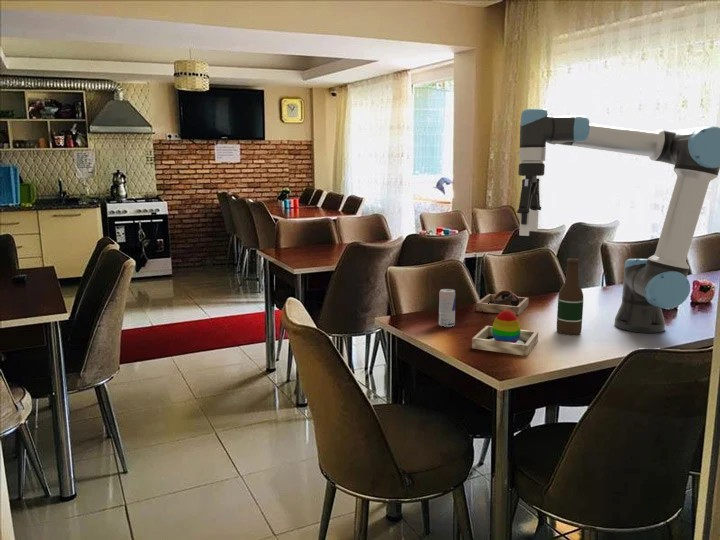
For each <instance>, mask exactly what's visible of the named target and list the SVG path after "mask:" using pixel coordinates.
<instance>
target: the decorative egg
mask: <svg viewBox="0 0 720 540" xmlns="http://www.w3.org/2000/svg"><path fill="white" fill-rule="evenodd" d="M492 326H493V327H492V333H493V336H492V337H493V338H494V339H495V341H503V342H511V343H516V342H517V341H518V339H519V337H520V330H521V324H520V321H519V319H518V316H517V315H515V314H514V313H513V312H511V311H509V310H504V311H502V312H501V313H497V315H496V317H495V318H494V321H493V323H492Z"/></svg>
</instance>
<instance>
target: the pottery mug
mask: <svg viewBox="0 0 720 540" xmlns="http://www.w3.org/2000/svg"><path fill="white" fill-rule="evenodd" d="M494 295H495V296H494V302H493V304H498V305H508V306H518V305H519V304H520V302H519V299H518V297H519V296H517V295H516V294H515V293H514V292H512V290H510V289H504V290H501V291H499V292H497V293H496V294H494ZM500 296H501V298H502V299H503V300H496V299H497V298H498V297H500Z"/></svg>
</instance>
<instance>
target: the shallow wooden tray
mask: <svg viewBox="0 0 720 540" xmlns="http://www.w3.org/2000/svg"><path fill="white" fill-rule="evenodd" d="M492 327H493V325H485V326H484V327H483V328H482V329H481V330H479V332H477V334H476V335H474V336H473V337H472V338H471V349H474V350H475V349H476V350H482V351H489V352H496V353H504V354H509V355H510V354H511V355H518V356H525V357H528V355H529V354H530V353H531V351H532V350H533V349H534V348H535V346H536V345H537V343H538V342H539V331H537V330H536V331H534V330H527V329H520V337H519V339H518V340H520V341H523V342H524V341H526V342H524V344H518V343H511V342H503V341H495V340H489V339H488V338H489V337H493V333H492Z"/></svg>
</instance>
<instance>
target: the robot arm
mask: <svg viewBox="0 0 720 540" xmlns="http://www.w3.org/2000/svg"><path fill="white" fill-rule="evenodd" d="M520 114H521V115H520V123H519V150H518V151H517V155H518V157H519V158H518V161H519V162H520V163H518V172H517V174H518V176H520V177H521V176H522V177H525V178H523V179H522V180H521V191H520V198H519V203H518V209H517V210H516V211H517V214H519V228H518V231H519V234H518V236H526V237H529V236H530V232H538V228H539V227H538V225H539V211H541V210H542V206H541V200H540V198H541V197H540V178H538V177H543V176H544V175H545V170H546V168H545V163H544V162H545V161H546V154H547V153H546V152H547V151H546V147H547V146H546V145H547V144H550V145H562V146H571V147H578V148H583V149H584V148H585V149H592V150H599V151H607V152H614V153H621V154H628V155H636V156H643V157H648V158H649V159H650V160H651V161H655V162H660V163H665V164H669V165H673V166H674V167H673V171H674V173H675V174H676V180H675V184H674V187H673V191H672V194H671V198H670V201H669V204H668V208H667V211H666V215H665V218H664V221H663V225H662V229H661V233H660V235H659V239H658V243H657V245H656V249H655V252H654V254H653V255H651V256H649V257H648V258H628V259H627V260H625V262H624V267H623V281H622V282H623V283H622V296H621V304H620V306H619V309H618V311H617V313H616V315H615V317H614V326H615V327H616V328H618V329H620V330H625V331H628V332H632V333H633V332H635V333H643V334H657V333H662V332H664V331H665V328H666V321H665V318H664V314H663V310H662V309H673V308H676V307H678V306H680V305H682V304H683V303H684V302H686V301H687V299H688V297H689V295H690V293H691V283H690V281H689V280H688V276H689V275H688V274H689V272H690V266H689V264H688V263H687V258H688V255H689V252H690V248H691V245H692V241H693V238H694V234H695V231H696V228H697V225H698V221H699V218H700V215H701V212H702V208H703V204H704V201H705V200H706V199H705V198H706V195H707V192H708V189H709V184H710V183H711V182H712V181H713V180H715V179H716V178H718V176H719V173H720V127H719V126H713V125H712V126H710V125H704V126H699V127H693V128H684V129H677V130H676V129H675V130H674V129H673V130H666V129H657V130H656V131H655V132H654V131H647V130H641V129H640V130H639V129H633V128H624V127H617V126H612V125H611V126H609V125H602V124H596V123H590V119H589V117H588V116H585V115H578V114H576V115H557V116H556V115H555V116H554V115H553V116H552V115H549V114H548V110H547V108H527V109H524V110H523V111H522V112H521V113H520Z"/></svg>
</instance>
